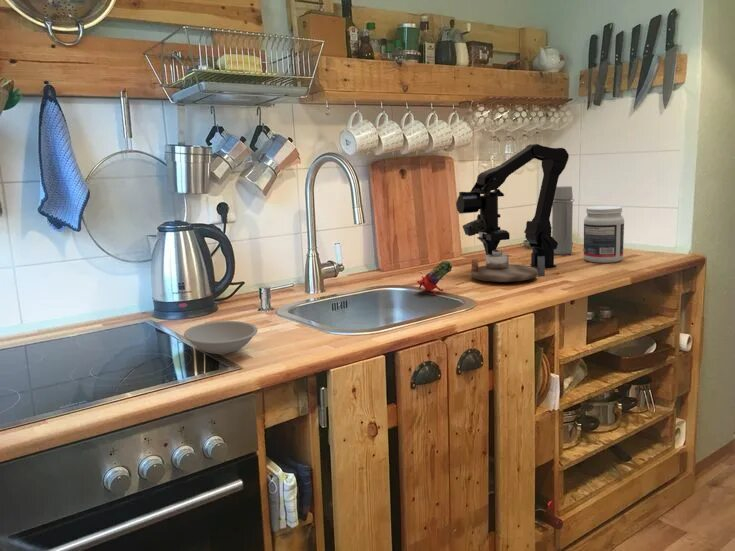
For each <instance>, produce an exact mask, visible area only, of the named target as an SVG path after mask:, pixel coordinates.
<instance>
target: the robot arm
mask: <svg viewBox="0 0 735 551" xmlns="http://www.w3.org/2000/svg"><path fill="white" fill-rule="evenodd" d="M569 155H570V154H569V153H568V151H567V149H565V148H564V147H549V146H545V145H541V144H538V143H535V144H534V143H533V144H528V145H526V146H525V148H523V149H521V150H520V151H519V152H517V153H516V154H515V155H513V156H511V157H510V158H508V159H507V160H506V161H504V162H503V163H500V164H499V165H498V166H495V167H492V168H489V169H486V170H484V171H482V172H480V173H479V174H478V175H477V179H476V182H475V184H474V185H473V186H472V188H471V190H470V191H459V192H458V196H457V199H456V202H455V205H456V211H457V212H458V214H471V213H477V212H479V214H477V216H476V219H474V220H472V221H470V222H468V223H466V224H463V225H462V229H463V232H464V234H465V236H468V237H472V236H475V235H479V236H477V239H478V240H479V241H480V242H481V243H482V245H483V248H484V250H485V256H486V255H487V254H492V250H497V249H498V247H499V244H500V243H501V241H506V240H507V241H508V240H510V238H511V237H510V232H509V231H508V230H506V229H501V226H499V219H500V218H501V214H500V213H499V197H504V196H505V194H504V193H503V192H502V191H501V190H500V189H499V188H500V187H501V186H502V185H503V184H504V183H505V181H506V180H507V178H509V176H510V175H512V174H513V173H514V172H516V171H518V170H519V169H521V168H522V167H523V166H525V165H526V164H528V163H530V162H531V161H533V160H534V159H535V160H538V161H541V168H542V172H543V177H542V182H541V186H540V190H539V195H538V200H537V205H536V208H535V214H534V216H533V218H532V219H531V220H527V221H526V226H525V230H524V231H523V233H524V234H525V237H524V238H525V239H526V241H527V242H528V245H529V247H530V248H532V252H531V255H530V259H531V262H530V265H529V266H530V267H534V268H536V269H538V256H544V257H545V268H555V267H557V265H556V264H555V254H554V249H557V245H558V243H557V242H556V241H555V240H554V238H553V237H552V223H551V221H550V220H551V214H552V205H553V202H554V196H555V191H556V187H557V186H558V183H559V178H560V176H561V174H562V173H563V171H564V170H565V169H566V167H567V163H568V161H569V158H570V156H569Z"/></svg>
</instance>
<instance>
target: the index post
mask: <svg viewBox="0 0 735 551" xmlns="http://www.w3.org/2000/svg"><path fill="white" fill-rule="evenodd" d="M545 272H546V270H545V257H544V256H538V268H537V276H539V277H543V276H546V274H545Z"/></svg>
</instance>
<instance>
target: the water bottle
mask: <svg viewBox="0 0 735 551" xmlns="http://www.w3.org/2000/svg"><path fill="white" fill-rule="evenodd" d="M573 202H575V199H574V196H573V187H572V185H560V186H559V185H557V187H556V191H555V196H554V201H553V205H552V210H551V214H552V218H551V219H552V220H551V221H552V222H551V228H552V230H551V236H552V237H553V238H554V240H555V241H556V242H557V243H558V245H557V249H554V255H555V256H556V255H557V256H559V255H560V256H567V255H571V254H572V252H573V210H574V208H573V206H574V205H573Z"/></svg>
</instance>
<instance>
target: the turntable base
mask: <svg viewBox="0 0 735 551" xmlns="http://www.w3.org/2000/svg"><path fill="white" fill-rule="evenodd" d="M488 282H490V283H497V284H498V283H500V284H501V283H502V284H503V283H504V284H507V283H508V284H510V283H518V282H519V281H510V282H497V281H488Z"/></svg>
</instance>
